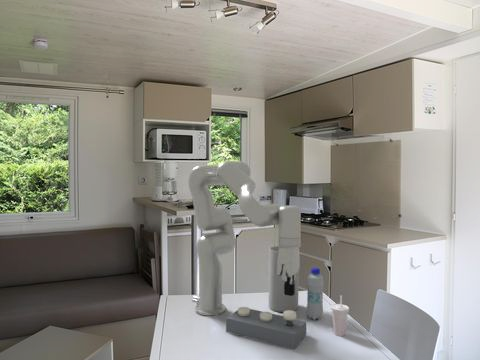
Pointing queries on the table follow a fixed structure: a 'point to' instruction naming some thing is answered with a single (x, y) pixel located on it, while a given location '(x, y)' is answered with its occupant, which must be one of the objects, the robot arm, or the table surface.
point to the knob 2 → (289, 317)
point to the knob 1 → (243, 311)
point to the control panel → (267, 329)
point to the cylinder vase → (280, 286)
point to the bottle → (315, 294)
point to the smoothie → (339, 317)
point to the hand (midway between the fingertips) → (289, 294)
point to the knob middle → (266, 316)
